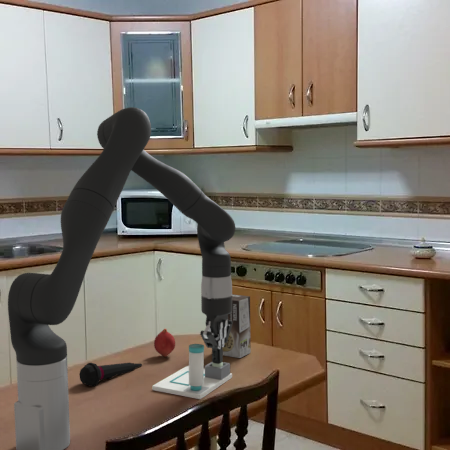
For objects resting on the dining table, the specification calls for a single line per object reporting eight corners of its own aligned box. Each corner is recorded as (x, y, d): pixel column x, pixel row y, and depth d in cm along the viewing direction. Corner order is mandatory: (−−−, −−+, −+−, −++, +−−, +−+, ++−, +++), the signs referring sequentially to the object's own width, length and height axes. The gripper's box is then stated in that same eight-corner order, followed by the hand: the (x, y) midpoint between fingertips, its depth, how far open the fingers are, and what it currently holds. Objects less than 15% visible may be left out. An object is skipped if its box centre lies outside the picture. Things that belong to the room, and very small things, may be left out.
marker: (198, 392, 146) (199, 348, 145) (185, 389, 148) (186, 346, 147) (206, 387, 150) (206, 345, 149) (193, 385, 151) (193, 343, 150)
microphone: (135, 377, 170) (76, 389, 154) (132, 355, 171) (73, 365, 155) (150, 374, 167) (91, 387, 151) (146, 352, 168) (88, 362, 152)
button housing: (221, 380, 155) (221, 368, 154) (204, 377, 157) (204, 366, 157) (230, 374, 159) (230, 363, 159) (213, 371, 161) (213, 360, 161)
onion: (150, 359, 174) (150, 330, 173) (159, 352, 180) (158, 324, 179) (170, 360, 173) (170, 331, 172) (178, 354, 178) (178, 326, 177)
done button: (219, 374, 156) (219, 365, 156) (210, 373, 157) (210, 363, 157) (224, 371, 158) (224, 361, 158) (215, 369, 160) (215, 360, 159)
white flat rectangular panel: (200, 399, 145) (200, 394, 145) (152, 389, 151) (152, 384, 151) (232, 377, 160) (232, 372, 159) (187, 369, 165) (187, 365, 165)
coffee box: (251, 352, 179) (251, 296, 178) (239, 358, 174) (239, 300, 172) (224, 347, 184) (223, 292, 182) (211, 353, 179) (211, 296, 177)
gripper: (216, 287, 163) (216, 353, 165) (189, 297, 152) (190, 368, 154) (242, 289, 160) (242, 357, 162) (217, 300, 148) (218, 373, 150)
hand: (217, 362), depth 158 cm, fingers closed
